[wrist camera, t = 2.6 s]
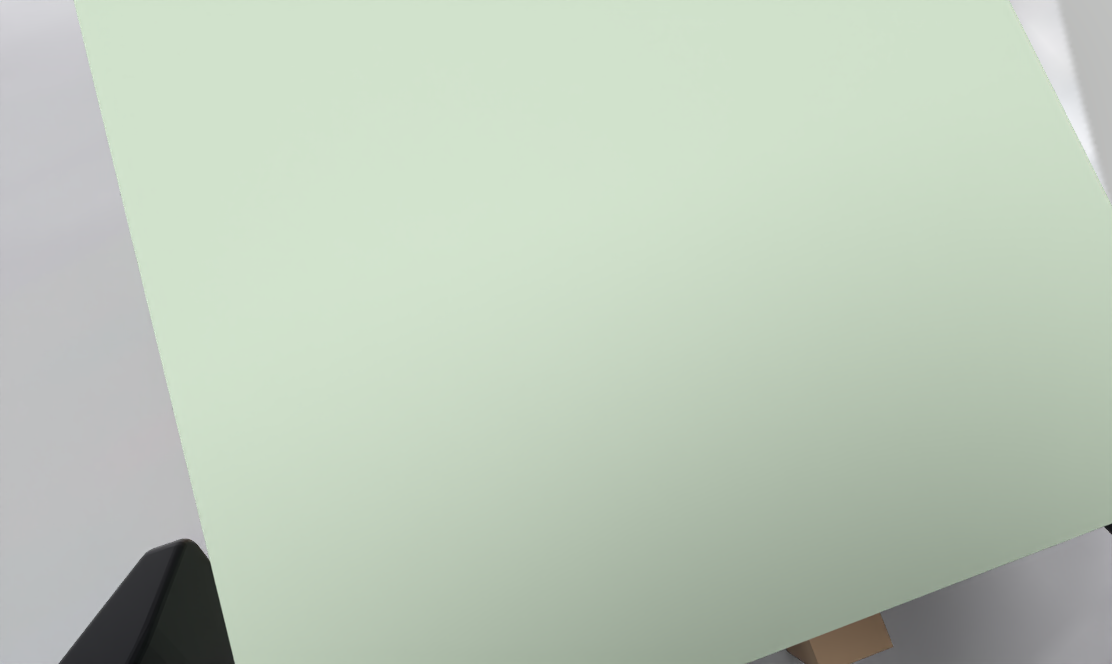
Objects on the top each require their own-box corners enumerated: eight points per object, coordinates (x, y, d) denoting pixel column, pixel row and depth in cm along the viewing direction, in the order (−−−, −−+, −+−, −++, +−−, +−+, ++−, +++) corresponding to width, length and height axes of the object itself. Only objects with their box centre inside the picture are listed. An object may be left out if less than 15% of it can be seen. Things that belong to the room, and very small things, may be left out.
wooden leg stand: (850, 627, 17) (906, 652, 14) (425, 790, 16) (407, 847, 13) (618, 31, 20) (632, -32, 17) (243, 137, 19) (200, 86, 16)
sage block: (678, 476, 17) (1245, 473, 4) (477, 546, 17) (279, 842, 3) (608, 283, 18) (861, -298, 5) (415, 345, 18) (48, -101, 4)
